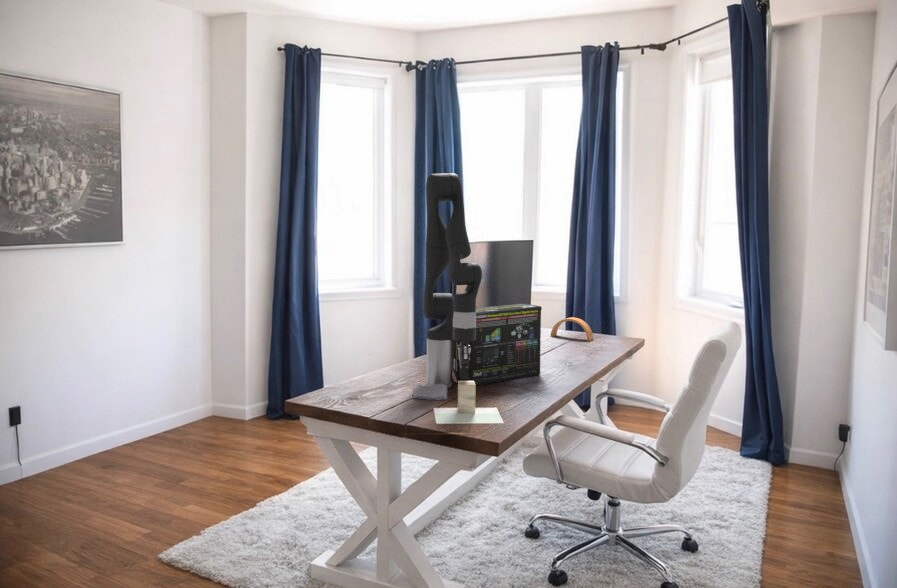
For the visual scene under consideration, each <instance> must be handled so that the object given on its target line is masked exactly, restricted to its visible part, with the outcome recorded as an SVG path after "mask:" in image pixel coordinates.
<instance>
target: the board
mask: <svg viewBox="0 0 897 588" xmlns="http://www.w3.org/2000/svg"><path fill="white" fill-rule="evenodd" d="M433 413H434V418H435V423H436V425H437V424H439V425H441V424H442V425H446V424H451V425H452V424H459V425H461V424H469V425H470V424H474V425H476V424H505V422H504V420H503V418H502V416H501V414H500V412H499V409H498V408H497V407H475V413H459V412H458V407H433Z"/></svg>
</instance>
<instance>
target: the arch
mask: <svg viewBox="0 0 897 588" xmlns="http://www.w3.org/2000/svg"><path fill="white" fill-rule="evenodd" d="M565 322H573V323H577V324H578V325H579V326H580V327H582V330H584V332H585V335H586V338H587V340H586V341H587V342H590V341H592V340H594V334H593V331H592V329H591V326H589V324H588V323H587V322H586V321H584V320H583V319H581V318H578V317H567V318H564V319H561V320H559V321H558V322H556V323H555V325H553V327H552V329H551V331H550V338H553V337H556V336H557V333H558V329H559V328H560V327H561V325H562V324H563V323H565Z"/></svg>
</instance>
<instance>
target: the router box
mask: <svg viewBox="0 0 897 588" xmlns="http://www.w3.org/2000/svg"><path fill="white" fill-rule="evenodd" d="M542 308H543V307H542V306H540V305H535V304H529V303H524V302H523V303H513V304H512V303H511V304H503V305H493V306H481V307H476V340H474V341H469V343H468V344H469V345H470V347H471V352H470V360H469V366H468V368H467V379H461V378H460V365H459V364H460V363H459V358H458V345H460V341H455V340H453V363H452V382H453V381H454V383H455V382H456V384H457V383H458V381H474V382H475V384H476V385H477V386H482V384H483V385H487V384H488V383H489V384H494V382H495V383H501V382H505V381H511V380H516V379H523V378H529V377H534V376H540V375H541V334H542V333H541V331H542V330H541V329H542V323H541V322H542Z"/></svg>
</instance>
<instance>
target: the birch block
mask: <svg viewBox="0 0 897 588" xmlns="http://www.w3.org/2000/svg"><path fill="white" fill-rule="evenodd" d="M476 388H477V386H476V384H475V382H474V381H458V384H457V408H458V412H459V413H475V408H476V393H477V391H476Z"/></svg>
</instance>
